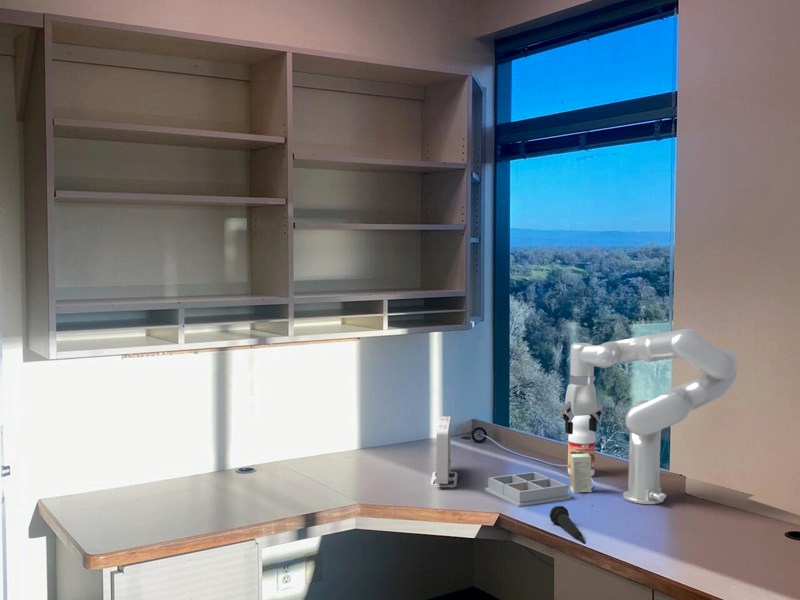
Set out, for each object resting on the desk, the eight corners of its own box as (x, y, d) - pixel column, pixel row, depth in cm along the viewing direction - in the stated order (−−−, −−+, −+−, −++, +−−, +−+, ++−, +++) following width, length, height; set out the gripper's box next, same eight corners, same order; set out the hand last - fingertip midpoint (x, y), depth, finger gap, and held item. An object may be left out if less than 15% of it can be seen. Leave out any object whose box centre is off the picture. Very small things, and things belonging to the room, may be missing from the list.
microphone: (589, 554, 227) (560, 522, 246) (596, 535, 226) (567, 504, 246) (571, 549, 226) (543, 518, 245) (579, 530, 225) (550, 500, 244)
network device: (433, 470, 303) (434, 415, 301) (457, 470, 302) (458, 416, 301) (429, 489, 277) (429, 430, 276) (455, 490, 276) (456, 430, 275)
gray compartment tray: (571, 498, 267) (571, 485, 267) (518, 506, 259) (519, 493, 259) (534, 483, 285) (535, 470, 285) (484, 490, 277) (485, 477, 277)
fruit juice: (591, 471, 302) (593, 394, 301) (596, 478, 293) (598, 398, 291) (565, 470, 303) (566, 394, 301) (569, 477, 293) (571, 398, 292)
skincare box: (588, 489, 278) (588, 453, 278) (591, 493, 274) (592, 456, 273) (569, 489, 278) (569, 453, 277) (572, 493, 274) (572, 456, 273)
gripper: (595, 377, 281) (594, 427, 282) (553, 380, 274) (552, 432, 275) (610, 380, 274) (609, 432, 275) (567, 383, 267) (566, 436, 268)
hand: (580, 432), depth 275 cm, fingers open, 9 cm apart
